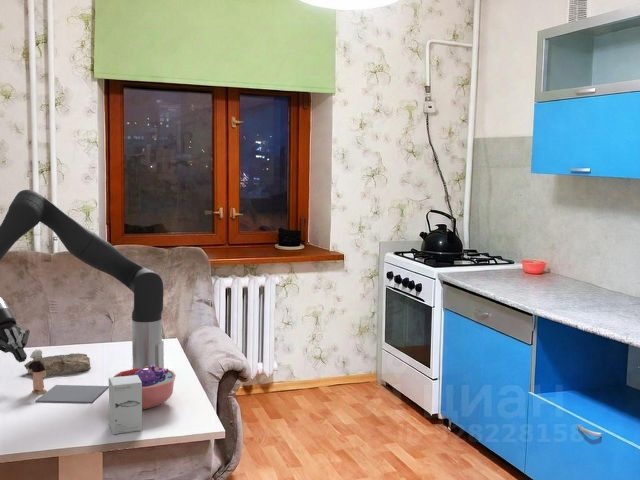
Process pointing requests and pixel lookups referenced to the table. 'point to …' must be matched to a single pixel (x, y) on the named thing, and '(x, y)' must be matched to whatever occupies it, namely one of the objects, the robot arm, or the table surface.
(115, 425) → the supplement box
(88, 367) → the clay tablet
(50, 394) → the felt mat
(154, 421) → the table surface
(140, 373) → the cell model
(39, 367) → the grandmother figurine
